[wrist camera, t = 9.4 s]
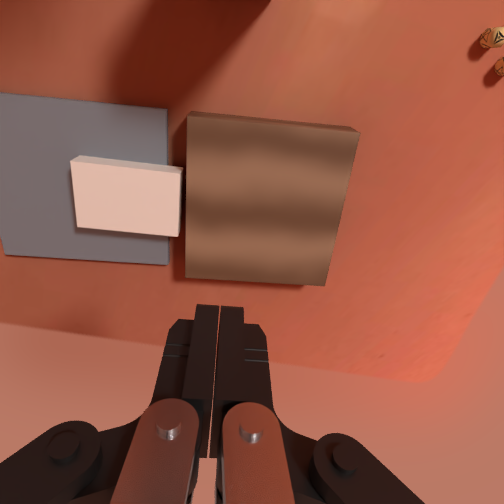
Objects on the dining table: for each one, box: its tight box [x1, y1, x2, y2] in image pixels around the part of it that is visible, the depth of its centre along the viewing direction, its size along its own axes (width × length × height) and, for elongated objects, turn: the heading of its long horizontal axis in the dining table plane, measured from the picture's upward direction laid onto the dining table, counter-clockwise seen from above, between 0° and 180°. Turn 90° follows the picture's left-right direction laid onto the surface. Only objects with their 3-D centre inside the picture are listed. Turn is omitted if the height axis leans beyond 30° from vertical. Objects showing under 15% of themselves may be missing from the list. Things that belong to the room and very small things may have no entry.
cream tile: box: [70, 155, 183, 237], centre depth 32 cm, size 6×9×2 cm, turn 82°
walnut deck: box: [185, 111, 360, 286], centre depth 33 cm, size 15×14×3 cm
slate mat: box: [0, 92, 169, 265], centre depth 33 cm, size 15×16×1 cm
